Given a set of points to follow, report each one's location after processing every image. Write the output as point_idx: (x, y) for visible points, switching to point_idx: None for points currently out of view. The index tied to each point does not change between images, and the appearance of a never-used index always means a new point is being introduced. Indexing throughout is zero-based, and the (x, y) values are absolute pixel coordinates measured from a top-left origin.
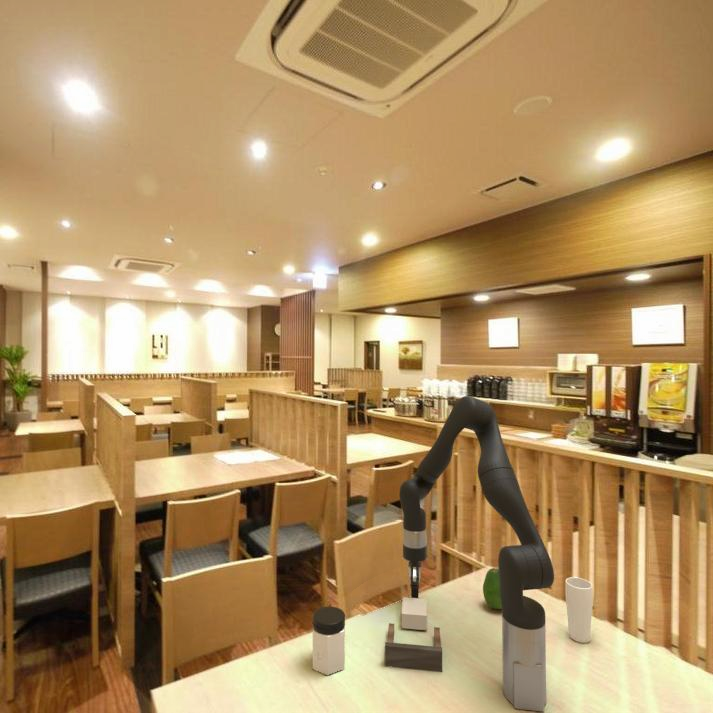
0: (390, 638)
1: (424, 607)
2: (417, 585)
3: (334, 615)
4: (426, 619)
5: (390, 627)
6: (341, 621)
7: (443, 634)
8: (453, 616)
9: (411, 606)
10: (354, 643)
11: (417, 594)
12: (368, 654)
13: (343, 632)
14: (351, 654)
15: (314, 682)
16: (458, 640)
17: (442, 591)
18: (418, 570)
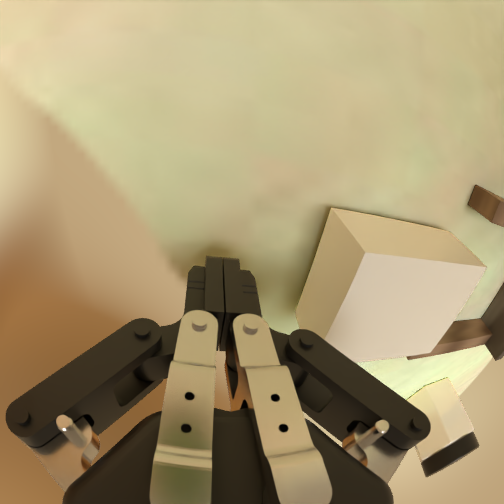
0: (461, 344)
1: (440, 271)
2: (351, 369)
3: (460, 458)
4: (476, 257)
5: (427, 353)
6: (478, 445)
7: (469, 164)
8: (363, 50)
9: (407, 328)
10: (398, 385)
11: (239, 282)
12: (440, 358)
13: (473, 428)
14: (424, 379)
15: None
16: (500, 122)
17: (49, 69)
18: (100, 384)
